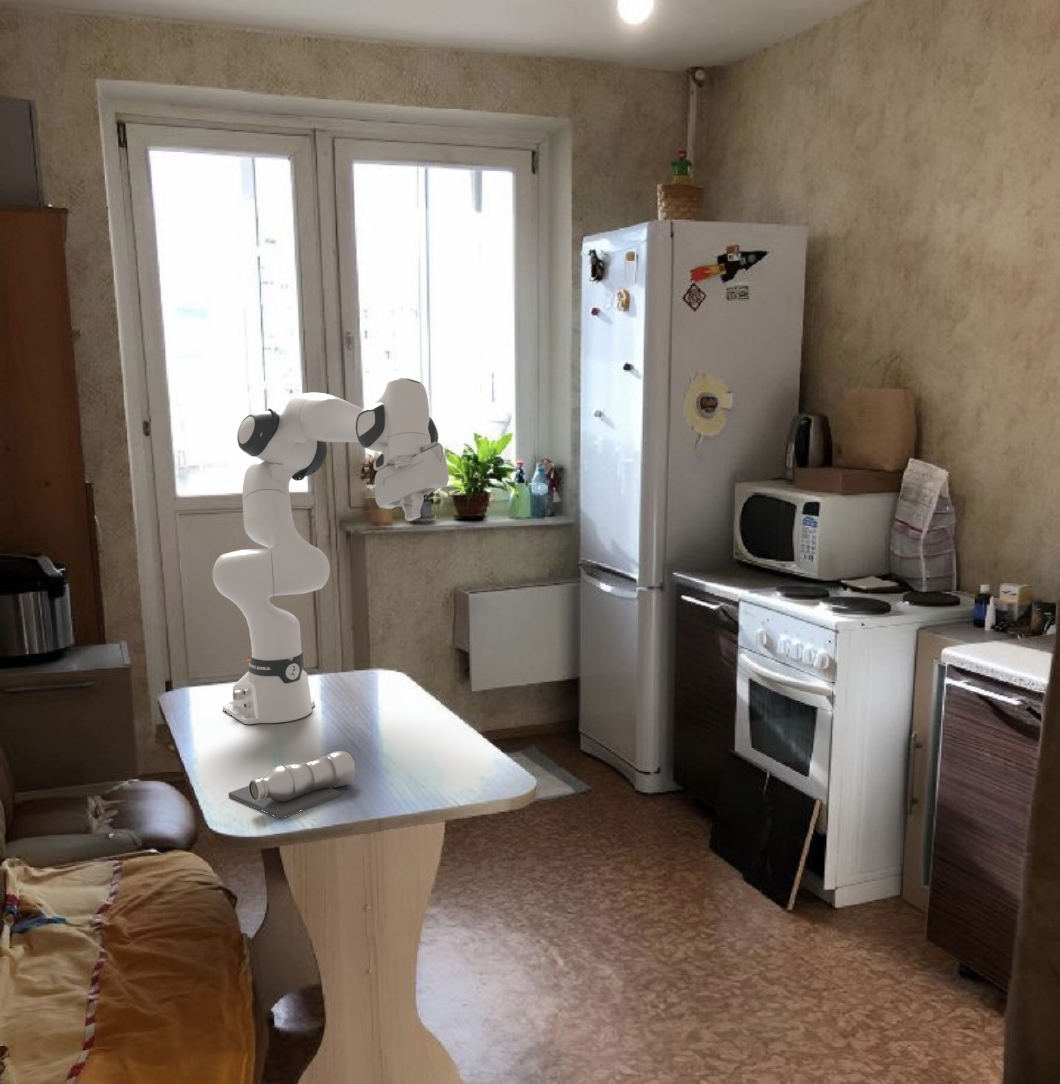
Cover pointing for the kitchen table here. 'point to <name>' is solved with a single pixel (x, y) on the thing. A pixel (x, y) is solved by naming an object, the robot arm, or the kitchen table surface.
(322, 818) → the kitchen table surface
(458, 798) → the kitchen table surface
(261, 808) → the mat
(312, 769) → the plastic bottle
